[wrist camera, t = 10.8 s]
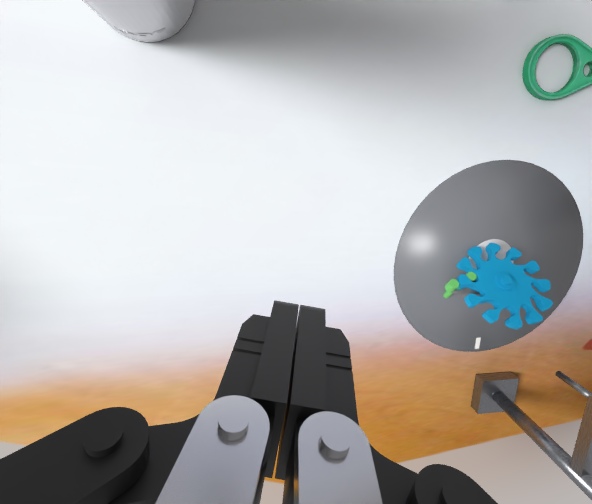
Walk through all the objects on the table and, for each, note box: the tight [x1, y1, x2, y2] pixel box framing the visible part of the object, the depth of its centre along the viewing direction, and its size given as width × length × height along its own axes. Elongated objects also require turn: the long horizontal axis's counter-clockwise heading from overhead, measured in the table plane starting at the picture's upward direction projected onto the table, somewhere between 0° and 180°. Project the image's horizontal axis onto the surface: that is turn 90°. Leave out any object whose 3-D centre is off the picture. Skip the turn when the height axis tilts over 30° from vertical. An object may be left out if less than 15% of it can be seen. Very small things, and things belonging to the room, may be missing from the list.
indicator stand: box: [471, 371, 592, 500], centre depth 34 cm, size 12×5×21 cm, turn 0°
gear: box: [443, 243, 553, 329], centre depth 38 cm, size 11×6×10 cm
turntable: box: [394, 160, 583, 351], centre depth 40 cm, size 24×24×1 cm
